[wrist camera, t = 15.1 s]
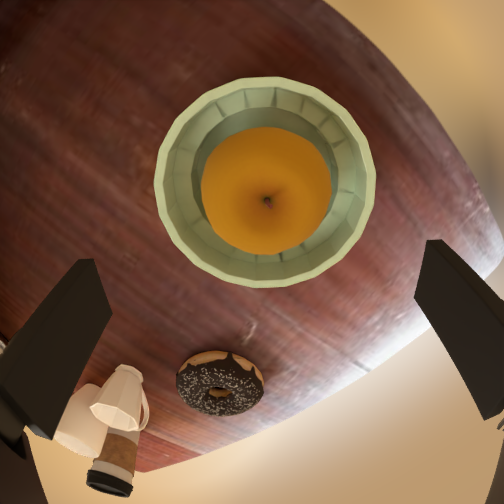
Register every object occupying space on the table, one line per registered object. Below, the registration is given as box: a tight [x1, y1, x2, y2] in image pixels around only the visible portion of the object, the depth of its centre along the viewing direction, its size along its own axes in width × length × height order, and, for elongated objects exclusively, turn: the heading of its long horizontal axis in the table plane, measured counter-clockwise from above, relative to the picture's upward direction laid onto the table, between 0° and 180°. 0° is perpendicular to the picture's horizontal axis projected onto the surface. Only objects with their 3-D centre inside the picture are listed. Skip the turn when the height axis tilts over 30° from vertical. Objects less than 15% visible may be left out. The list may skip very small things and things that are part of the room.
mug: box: [53, 384, 108, 458], centre depth 37 cm, size 12×8×11 cm
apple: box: [201, 127, 332, 255], centre depth 21 cm, size 9×9×9 cm
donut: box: [176, 351, 264, 417], centre depth 36 cm, size 11×12×4 cm
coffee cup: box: [86, 426, 140, 497], centre depth 41 cm, size 8×8×15 cm
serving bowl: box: [154, 77, 376, 288], centre depth 23 cm, size 15×15×6 cm
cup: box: [90, 364, 149, 432], centre depth 36 cm, size 7×10×8 cm
